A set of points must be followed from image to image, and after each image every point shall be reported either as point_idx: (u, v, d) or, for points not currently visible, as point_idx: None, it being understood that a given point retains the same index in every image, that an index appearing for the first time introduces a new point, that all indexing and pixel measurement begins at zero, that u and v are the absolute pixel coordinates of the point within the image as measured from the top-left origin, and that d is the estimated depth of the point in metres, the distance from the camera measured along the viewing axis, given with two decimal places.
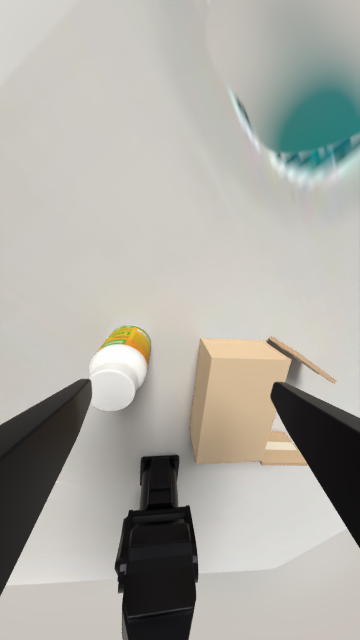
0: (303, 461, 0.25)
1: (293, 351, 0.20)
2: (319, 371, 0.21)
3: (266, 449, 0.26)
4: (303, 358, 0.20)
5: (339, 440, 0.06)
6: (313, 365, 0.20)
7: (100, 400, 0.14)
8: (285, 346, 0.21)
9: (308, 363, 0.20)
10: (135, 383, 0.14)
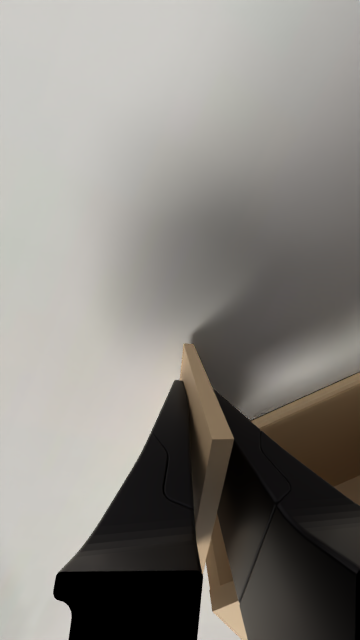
0: None
1: None
2: (207, 528, 0.05)
3: None
4: None
5: None
6: None
7: None
8: None
9: None
10: None
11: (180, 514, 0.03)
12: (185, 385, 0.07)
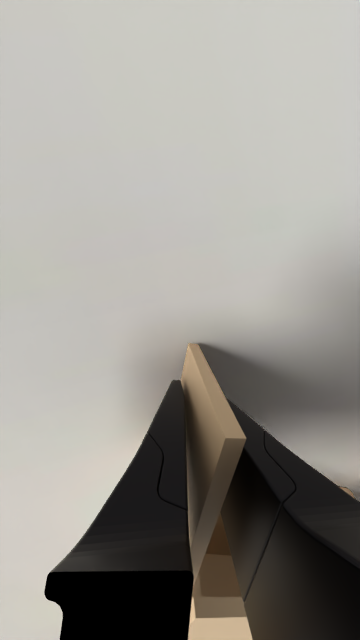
0: None
1: None
2: (208, 528, 0.05)
3: None
4: None
5: None
6: (192, 558, 0.05)
7: None
8: None
9: None
10: None
11: (173, 516, 0.03)
12: (189, 384, 0.07)
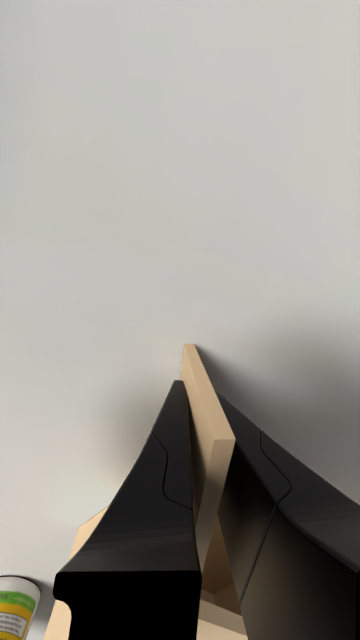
0: None
1: None
2: (206, 529, 0.05)
3: None
4: None
5: None
6: None
7: None
8: None
9: None
10: None
11: (179, 515, 0.03)
12: (185, 385, 0.07)
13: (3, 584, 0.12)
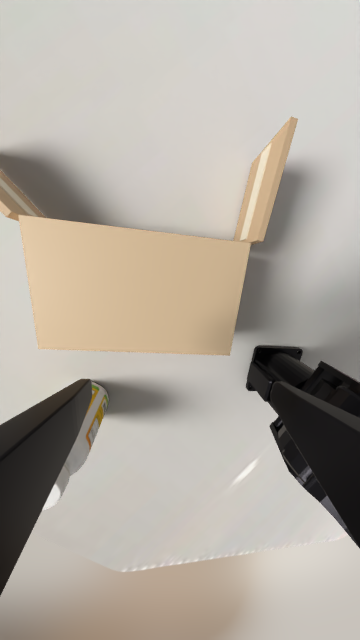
0: (285, 130, 0.11)
1: (15, 217, 0.11)
2: None
3: (251, 220, 0.14)
4: None
5: (339, 440, 0.06)
6: None
7: None
8: None
9: None
10: None
11: None
12: None
13: None
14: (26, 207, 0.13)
